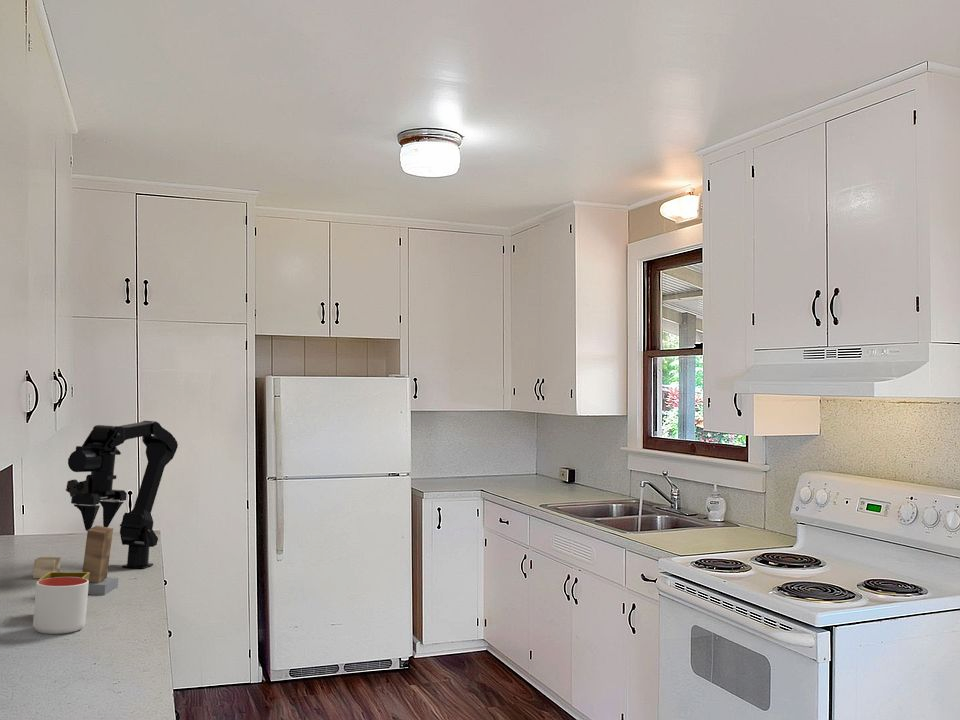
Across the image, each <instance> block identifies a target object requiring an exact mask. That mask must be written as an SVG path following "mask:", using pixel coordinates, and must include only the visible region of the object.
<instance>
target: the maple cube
mask: <svg viewBox="0 0 960 720" xmlns="http://www.w3.org/2000/svg"><path fill="white" fill-rule="evenodd" d="M61 558H62V557H61V556H40V557H38V558H36V559H33V560H34V562H33V573H32V574H33V575H32V579H33V578H42V577H43V576H45V575H46V574H47V573H49V572H60V571H61V570H60V569H61Z"/></svg>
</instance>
